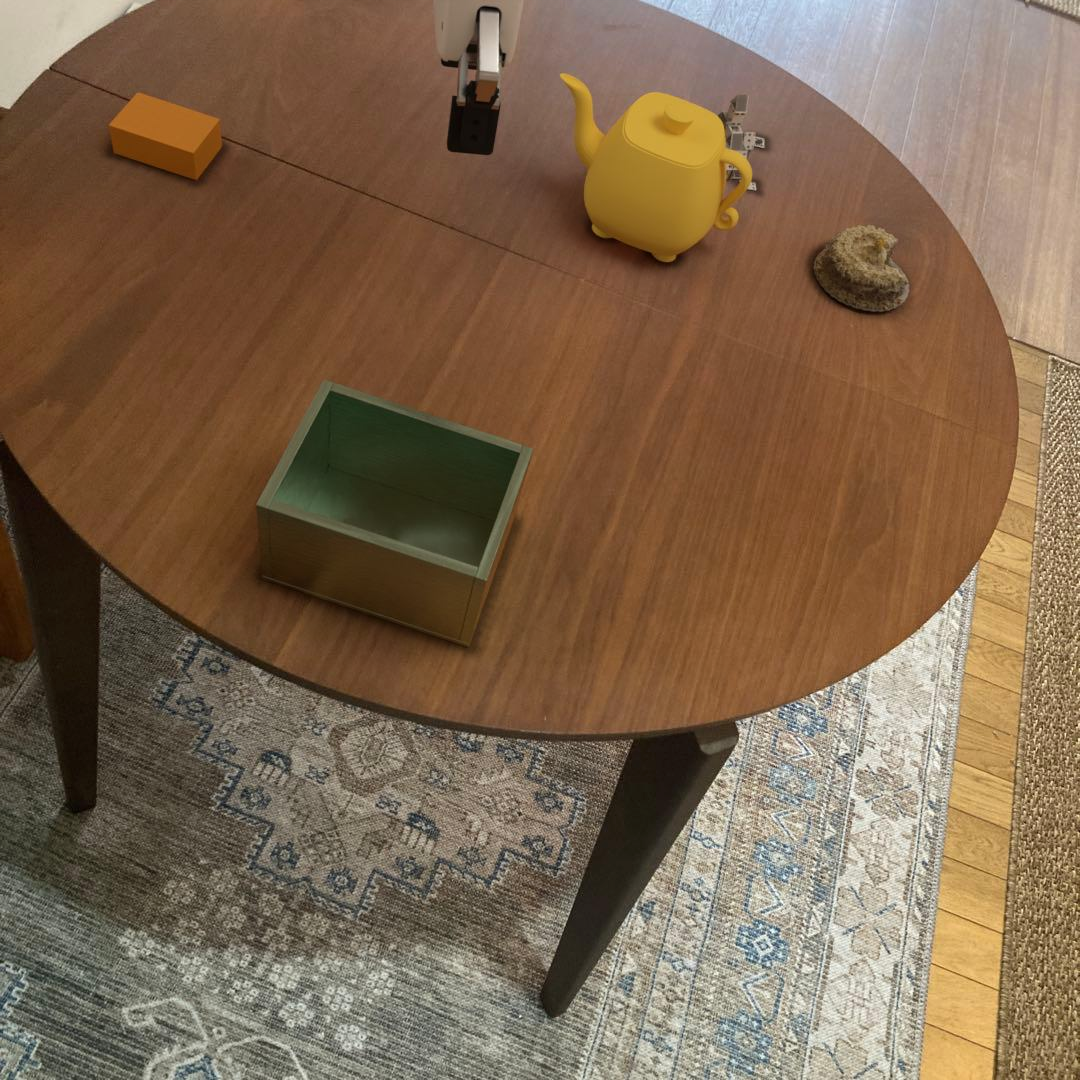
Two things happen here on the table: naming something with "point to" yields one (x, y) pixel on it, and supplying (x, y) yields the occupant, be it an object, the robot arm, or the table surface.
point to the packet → (166, 136)
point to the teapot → (656, 172)
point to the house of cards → (738, 134)
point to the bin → (391, 511)
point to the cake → (862, 269)
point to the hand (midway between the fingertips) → (465, 107)
